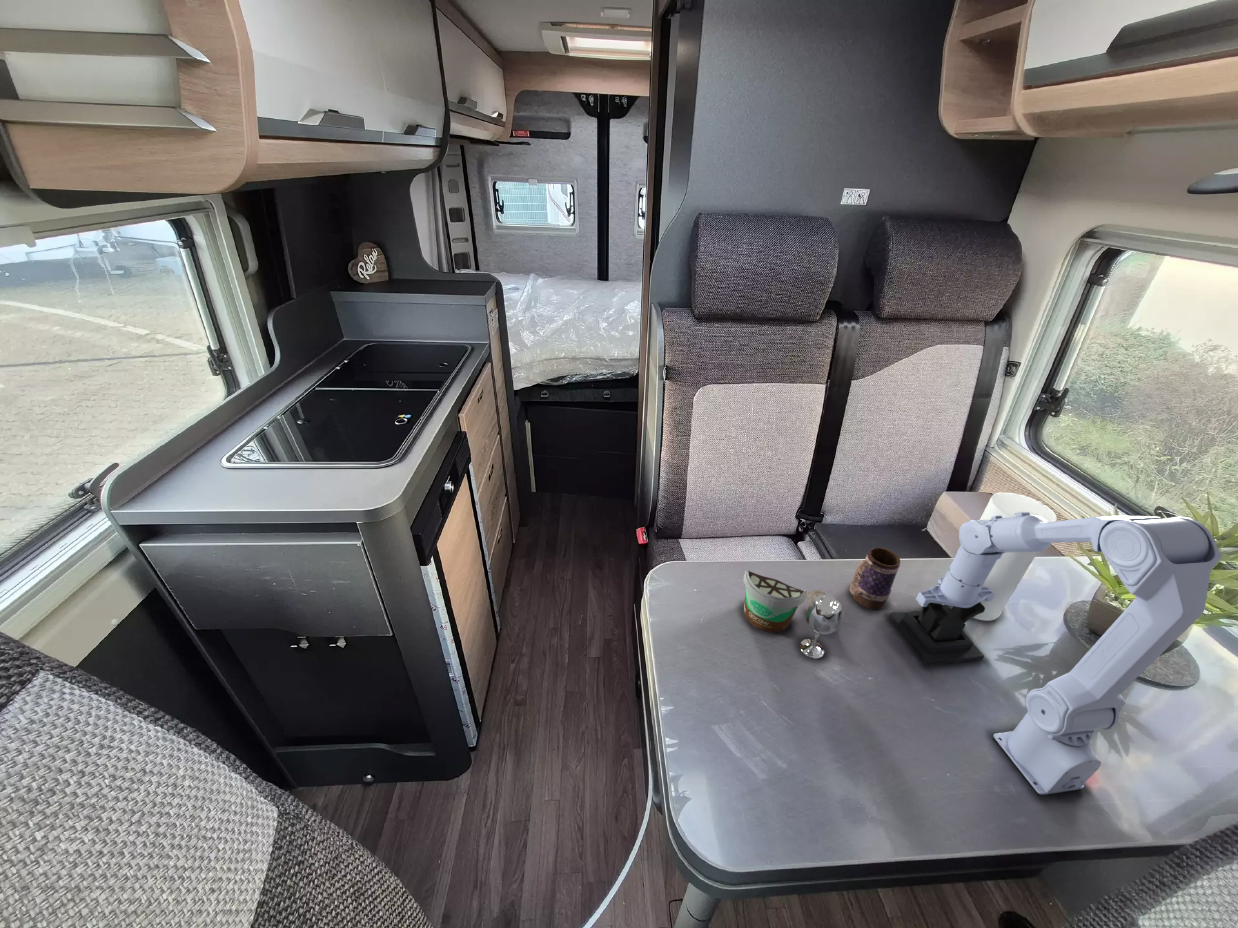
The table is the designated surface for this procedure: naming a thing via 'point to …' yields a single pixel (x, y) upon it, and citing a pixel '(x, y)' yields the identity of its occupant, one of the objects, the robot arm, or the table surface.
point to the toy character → (813, 595)
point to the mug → (875, 578)
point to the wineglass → (821, 623)
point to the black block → (946, 627)
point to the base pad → (928, 648)
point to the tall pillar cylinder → (1011, 563)
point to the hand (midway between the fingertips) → (939, 627)
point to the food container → (770, 602)
